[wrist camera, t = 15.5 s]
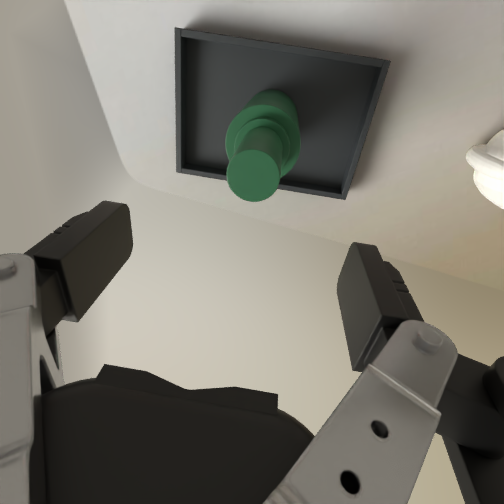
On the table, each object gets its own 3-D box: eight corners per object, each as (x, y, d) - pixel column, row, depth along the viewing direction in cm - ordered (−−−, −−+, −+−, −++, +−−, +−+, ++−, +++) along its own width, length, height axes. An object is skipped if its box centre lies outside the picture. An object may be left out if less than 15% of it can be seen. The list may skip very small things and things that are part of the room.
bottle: (241, 142, 33) (201, 214, 18) (247, 85, 30) (205, 114, 15) (291, 150, 33) (292, 229, 18) (303, 93, 30) (315, 132, 15)
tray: (182, 165, 36) (176, 172, 34) (182, 29, 28) (174, 27, 26) (342, 192, 35) (345, 200, 33) (384, 60, 28) (391, 60, 26)
